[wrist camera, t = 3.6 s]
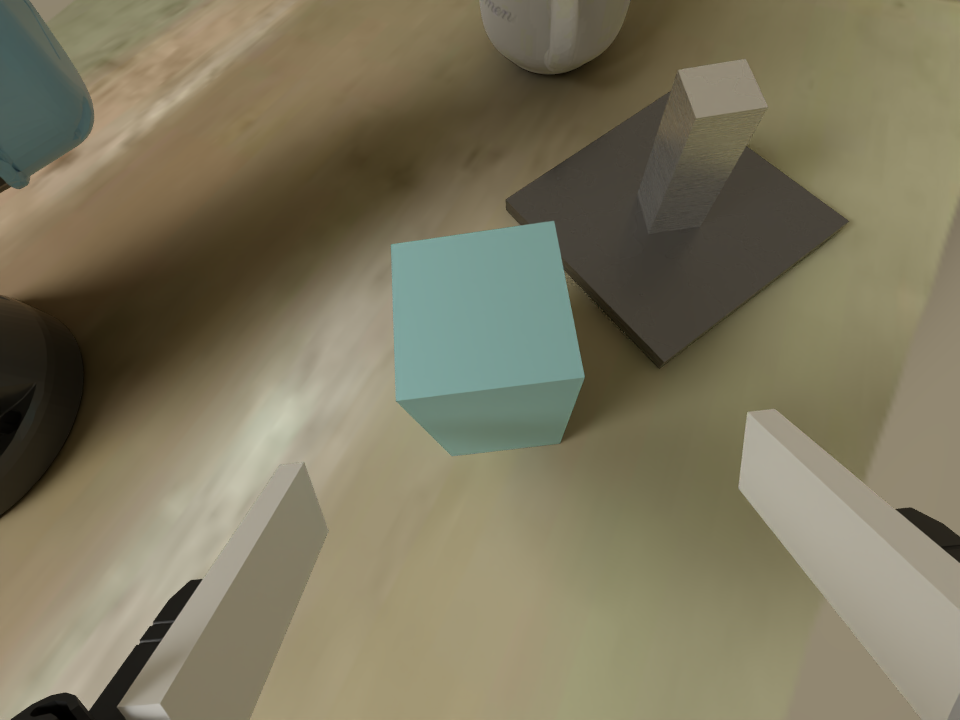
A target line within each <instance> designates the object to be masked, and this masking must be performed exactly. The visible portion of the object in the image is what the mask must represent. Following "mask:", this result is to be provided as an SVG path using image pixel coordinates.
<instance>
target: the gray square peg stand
mask: <svg viewBox="0 0 960 720" xmlns="http://www.w3.org/2000/svg"><path fill="white" fill-rule="evenodd" d="M767 108H768V106H767V103H766V101H765V99H764V97H763V95H762V93H761V90H760V88H759V86H758V84H757V82H756V80H755V77H754V75H753V73H752V71H751V69H750V67H749V65H748V62H747V60H746V59H742V60H735V61H729V62H723V63H717V64H711V65H704V66H698V67H692V68H686V69H680V70H678V71H677V74H676V77H675V80H674V83H673V86H672V89H671V91H670V92H668V93H667V94H665V95H664V96H662V97H661V98H659V99H658V100H656V101H655V102H653V103H652V104H650V105H649V106H647V107H646V108H644V109H643V110H641V111H640V112H638V113H636V114H635V115H633V116H632V117H630V118H629V119H627V120H626V121H624V122H623V123H621V124H620V125H618V126H617V127H615V128H614V129H612V130H611V131H609V132H608V133H606V134H605V135H603V136H601V137H600V138H598V139H597V140H595V141H594V142H592V143H591V144H589V145H588V146H586V147H585V148H583V149H582V150H580V151H579V152H577V153H576V154H574V155H573V156H571V157H570V158H568V159H566V160H565V161H563V162H562V163H560V164H559V165H557V166H556V167H554V168H553V169H551V170H550V171H548V172H547V173H545V174H544V175H542V176H541V177H539V178H538V179H536V180H535V181H533V182H531V183H530V184H528V185H527V186H525V187H524V188H522V189H521V190H519V191H518V192H516V193H515V194H513V195H512V196H510V197H509V198H507V199H506V210H507V211H508V212H509V213H510V214H511V215H512V216H513V217H514V218H515V219H516V221H517V222H518V223H519V224H520V225H528V224H535V223H542V222H549V221H554V223H555V228H556V233H557V238H558V243H559V248H560V253H561V259H562V264H563V269H564V270H565V271H566V272H567V273H568V274H569V275H570V276H571V278H572V279H573V280H574V281H575V282H576V283H577V284H578V285H579V286H580V287H581V288H582V289H583V290H584V291H585V292H586V293H587V294H588V295H589V296H590V297H591V298H592V299H593V300H594V301H595V302H596V303H597V304H598V305H599V307H600V308H601V309H602V310H603V311H604V312H605V313H606V314H607V315H608V316H609V317H610V318H611V319H612V320H613V321H614V322H615V323H616V324H617V325H618V326H619V327H620V328H621V329H622V330H623V331H624V332H625V333H626V335H627V336H628V337H629V338H630V339H631V340H632V341H633V342H634V343H635V344H636V345H637V346H638V347H639V348H640V349H641V350H642V351H643V352H644V353H645V354H646V355H647V356H648V357H649V358H650V359H651V360H652V361H653V362H654V364H655V365H656V366H657V367H658V368H661V367H662V366H663V365H665V364H666V363H667V362H669V361H670V360H671V359H672V358H674V357H675V356H676V355H678V354H679V353H680V352H682V351H683V350H684V349H686V348H687V347H688V346H689V345H691V344H692V343H693V342H695V341H696V340H697V339H699V338H700V337H701V336H703V335H704V334H705V333H707V332H708V331H709V330H710V329H712V328H713V327H714V326H716V325H717V324H718V323H720V322H721V321H722V320H724V319H725V318H726V317H727V316H729V315H730V314H731V313H733V312H734V311H735V310H737V309H738V308H739V307H741V306H742V305H743V304H744V303H746V302H747V301H748V300H750V299H751V298H752V297H754V296H755V295H756V294H758V293H759V292H760V291H761V290H763V289H764V288H765V287H767V286H768V285H769V284H771V283H772V282H773V281H775V280H776V279H777V278H778V277H780V276H781V275H782V274H784V273H785V272H786V271H788V270H789V269H790V268H792V267H793V266H794V265H795V264H797V263H798V262H799V261H801V260H802V259H803V258H805V257H806V256H807V255H809V254H810V253H811V252H813V251H814V250H815V249H816V248H818V247H819V246H820V245H822V244H823V243H824V242H826V241H827V240H828V239H830V238H831V237H832V236H833V235H835V234H836V233H837V232H839V231H840V230H841V229H842V228H843V227H844V226H845V225H846V224H847V223H848V222H849V221H848V220H847V219H845V218H844V217H843V216H841V215H840V214H838V213H837V212H836V211H834V210H833V209H832V208H830V207H829V206H827V205H826V204H825V203H823V202H822V201H821V200H819V199H818V198H817V197H815V196H814V195H812V194H811V193H810V192H808V191H807V190H806V189H804V188H803V187H801V186H800V185H799V184H797V183H796V182H795V181H793V180H792V179H791V178H789V177H788V176H786V175H785V174H784V173H782V172H781V171H780V170H778V169H777V168H775V167H774V166H773V165H771V164H770V163H769V162H767V161H766V160H765V159H763V158H762V157H760V156H759V155H758V154H756V153H755V152H754V151H752V150H751V149H749V148H748V147H747V146H746V145H747V143H748V142H749V140H750V138H751V136H752V135H753V133H754V131H755V129H756V128H757V126H758V124H759V122H760V121H761V119H762V117H763V115H764V114H765V112H766V110H767Z"/></svg>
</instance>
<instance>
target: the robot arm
mask: <svg viewBox="0 0 960 720" xmlns="http://www.w3.org/2000/svg"><path fill="white" fill-rule="evenodd" d="M93 123H94V109H93V103H92V100H91V97H90V95H89V92H88V90H87V88H86V85H85V84H84V82H83V80H82V78H81V76H80V75H79V73H78V71H77V70H76V68H75V66H74V65H73V63H72V62H71V60H70V58H69V57H68V55H67V54H66V52H65V51H64V49H63V48H62V46H61V45H60V44H59V42H58V41H57V39H56V38H55V36H54V35H53V33H52V32H51V31H50V29H49V28H48V26H47V25H46V23H45V22H44V20H43V19H42V18H41V16H40V15H39V13H38V12H37V11H36V9H35V8H34V6H33V5H32V3H31V2H30V1H29V0H0V193H1V192H3V191H5V190H6V189H8V188H10V187H13V188H16V189H21V188H23V187H25V186H27V185H28V184H29V181H30V176H31V175H32V174H34V173H35V172H37V171H39V170H40V169H42V168H43V167H45V166H47V165H48V164H50V163H51V162H53V161H54V160H56V159H58V158H59V157H61V156H62V155H64V154H65V153H67V152H69V151H70V150H72V149H73V148H75V147H77V146H78V145H79V144H81V143H82V142H83V141H84V140H85V139H86V138H87V137H88V135H89V134H90V132H91V130H92V127H93ZM82 388H83V363H82V357H81V353H80V350H79V347H78V345H77V342H76V340H75V338H74V337H73V335H72V334H71V332H70V331H69V330H68V328H67V327H66V326H65V325H64V324H63V323H61V322H60V321H59V320H57V319H56V318H55V317H53V316H51V315H49V314H47V313H45V312H42V311H40V310H38V309H36V308H33V307H31V306H29V305H27V304H25V303H22V302H20V301H18V300H15V299H12V298H9V297H6V296H2V295H0V515H1V514H3V513H4V512H5V511H6V510H8V509H9V508H10V507H11V506H13V505H14V504H15V503H16V502H17V501H18V500H19V499H20V498H21V497H23V496H24V495H25V494H26V493H27V492H28V491H29V490H30V488H31V487H32V486H33V485H34V484H35V483H36V482H37V481H38V480H39V478H40V477H41V476H42V475H43V474H44V472H45V471H46V470H47V468H48V467H49V466H50V464H51V463H52V461H53V460H54V459H55V457H56V456H57V454H58V452H59V451H60V449H61V447H62V446H63V444H64V442H65V440H66V438H67V436H68V434H69V432H70V430H71V427H72V425H73V423H74V420H75V417H76V414H77V411H78V408H79V404H80V400H81V395H82ZM738 488H739V490H740V491H741V492H742V493H743V495H744V496H745V497H746V499H747V500H748V501H749V502H750V504H751V505H752V506H753V507H754V509H755V510H756V511H757V512H758V514H759V515H760V516H761V517H762V519H763V520H764V521H765V523H766V524H767V525H768V526H769V528H770V529H771V530H772V531H773V533H774V534H775V535H776V536H777V538H778V539H779V540H780V542H781V543H782V544H783V545H784V547H785V548H786V549H787V550H788V552H789V553H790V554H791V555H792V557H793V558H794V559H795V560H796V562H797V563H798V564H799V566H800V567H801V568H802V569H803V571H804V572H805V573H806V574H807V576H808V577H809V578H810V579H811V581H812V582H813V583H814V584H815V586H816V587H817V588H818V590H819V591H820V592H821V593H822V595H823V596H824V597H825V598H826V600H827V601H828V602H829V603H830V605H831V606H832V607H833V608H834V610H835V611H836V612H837V614H838V615H839V616H840V617H841V619H842V620H843V621H844V622H845V624H846V625H847V626H848V627H849V629H850V630H851V631H852V633H853V634H854V635H855V636H856V638H857V639H858V640H859V641H860V643H861V644H862V645H863V646H864V648H865V649H866V650H867V651H868V653H869V654H870V655H871V657H872V658H873V659H874V660H875V661H876V663H877V664H878V665H879V667H880V668H881V669H882V670H883V672H884V673H885V674H886V675H887V677H888V678H889V679H890V680H891V682H892V683H893V684H894V685H895V687H896V688H897V689H898V691H899V692H900V693H901V694H902V696H903V697H904V698H905V699H906V701H907V702H908V703H909V704H910V706H911V707H912V708H913V710H914V711H915V712H916V713H917V715H918V716H919V717H920V718H921V719H922V720H960V537H959V536H958V535H957V534H955V533H954V532H953V531H952V530H950V529H949V528H948V527H946V526H945V525H944V524H943V523H941V522H939V521H937V520H935V519H933V518H931V517H929V516H927V515H925V514H923V513H921V512H919V511H917V510H915V509H913V508H901V509H894V508H893V507H892V506H891V505H889V504H888V503H887V502H886V501H885V500H883V499H882V498H881V497H880V496H879V495H877V494H876V493H875V492H874V491H873V490H872V489H870V488H869V487H868V486H867V485H866V484H864V483H863V482H862V481H861V480H860V479H858V478H857V477H856V476H855V475H854V474H852V473H851V472H850V471H849V470H848V469H846V468H845V467H844V466H843V465H842V464H840V463H839V462H838V461H837V460H836V459H834V458H833V457H832V456H831V455H830V454H828V453H827V452H826V451H825V450H824V449H822V448H821V447H820V446H819V445H818V444H816V443H815V442H814V441H813V440H812V439H810V438H809V437H808V436H807V435H806V434H804V433H803V432H802V431H801V430H800V429H798V428H797V427H796V426H795V425H794V424H792V423H791V422H790V421H789V420H788V419H787V418H785V417H784V416H783V415H782V414H781V413H779V412H778V411H777V410H776V409H768V410H759V411H750V412H747V419H746V427H745V436H744V444H743V453H742V461H741V470H740V479H739V487H738ZM328 531H329V530H328V528H327V525H326V522H325V519H324V516H323V514H322V511H321V508H320V505H319V502H318V500H317V497H316V494H315V491H314V488H313V486H312V483H311V480H310V477H309V475H308V472H307V469H306V466H305V463H304V462H301V463H292V464H283V465H279V467H278V468H277V470H276V471H275V473H274V474H273V476H272V477H271V479H270V480H269V482H268V483H267V485H266V486H265V488H264V489H263V491H262V492H261V494H260V495H259V496H258V498H257V499H256V501H255V502H254V504H253V505H252V507H251V508H250V510H249V511H248V513H247V514H246V516H245V517H244V519H243V520H242V522H241V523H240V525H239V526H238V528H237V529H236V531H235V532H234V534H233V535H232V537H231V538H230V540H229V541H228V543H227V544H226V546H225V547H224V548H223V550H222V551H221V553H220V554H219V556H218V557H217V559H216V560H215V562H214V563H213V565H212V566H211V568H210V569H209V571H208V572H207V574H206V575H205V577H204V578H203V579H198V580H190V581H189V582H188V583H187V584H186V585H185V586H184V587H183V588H181V589H180V590H179V591H178V592H177V593H176V594H175V595H174V596H173V597H172V598H170V599H169V600H168V602H167V603H166V605H165V606H164V607H163V609H162V610H161V612H160V613H159V614H158V616H157V617H156V619H155V620H154V621H153V626H150V627H149V628H148V630H147V631H146V632H145V634H144V635H143V637H142V638H141V639H140V644H139V645H136V646H135V648H134V649H133V651H132V652H131V653H130V655H129V656H128V657H127V659H126V660H125V662H124V663H123V664H122V666H121V667H120V669H119V670H118V671H117V673H116V674H115V676H114V677H113V678H112V680H111V681H110V683H109V684H108V685H107V687H106V688H105V689H104V691H103V692H102V694H101V695H100V696H99V698H98V699H97V701H96V702H95V703H94V705H93V706H92V708H91V709H90V710H89V711H88V710H87V709H86V708H85V706H84V705H83V704H82V703H81V701H80V700H79V699H78V698H77V697H76V696H75V695H72V694H69V693H61V694H55V695H51V696H49V697H46V698H44V699H42V700H40V701H38V702H36V703H34V704H32V705H31V706H29V707H28V708H26V709H25V710H23V711H22V712H21V713H19V714H18V715H16V716H15V717H13V718H12V719H11V720H250V717H251V715H252V713H253V710H254V708H255V705H256V703H257V701H258V698H259V696H260V694H261V691H262V689H263V686H264V684H265V682H266V679H267V677H268V674H269V672H270V670H271V667H272V665H273V662H274V660H275V658H276V655H277V653H278V651H279V648H280V646H281V643H282V641H283V639H284V636H285V634H286V631H287V629H288V627H289V624H290V622H291V620H292V617H293V615H294V612H295V610H296V608H297V605H298V603H299V600H300V598H301V596H302V593H303V591H304V588H305V586H306V584H307V581H308V579H309V577H310V574H311V572H312V569H313V567H314V565H315V562H316V560H317V557H318V555H319V553H320V550H321V548H322V545H323V543H324V541H325V538H326V536H327V534H328Z"/></svg>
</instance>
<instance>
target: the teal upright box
mask: <svg viewBox="0 0 960 720" xmlns="http://www.w3.org/2000/svg"><path fill="white" fill-rule="evenodd" d="M391 261H392V292H393V323H394V354H395V385H396V402H397V403H399V404H400V405H401V406H402V407H403V408H404V409H405V410H406V411H407V412H408V413H409V414H410V415H411V416H412V417H413V418H414V419H415V420H416V421H417V422H418V423H419V424H420V425H421V426H422V427H423V428H424V429H425V430H426V431H427V432H428V433H429V434H430V435H431V436H432V437H433V438H434V439H435V440H436V441H437V442H438V443H439V444H440V445H441V446H442V447H443V448H444V449H445V450H446V451H447V452H448V453H449V454H450V455H451V456H458V455H467V454H475V453H484V452H492V451H501V450H509V449H518V448H526V447H535V446H543V445H552V444H560V442H561V439H562V437H563V434H564V431H565V429H566V426H567V423H568V421H569V418H570V415H571V413H572V410H573V407H574V405H575V402H576V399H577V397H578V394H579V391H580V389H581V386H582V383H583V381H584V378H585V376H584V371H583V366H582V361H581V355H580V350H579V345H578V340H577V335H576V330H575V325H574V320H573V315H572V310H571V304H570V299H569V294H568V289H567V284H566V279H565V274H564V269H563V264H562V259H561V253H560V248H559V243H558V238H557V233H556V228H555V223H554V221H549V222H542V223H535V224H528V225H521V226H514V227H507V228H501V229H494V230H487V231H480V232H473V233H466V234H459V235H452V236H445V237H439V238H432V239H425V240H418V241H411V242H404V243H397V244H391Z"/></svg>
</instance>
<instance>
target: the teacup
mask: <svg viewBox="0 0 960 720" xmlns="http://www.w3.org/2000/svg"><path fill="white" fill-rule="evenodd" d="M630 1H631V0H480V9H481V16H482V21H483V24H484V28H485V31H486V33H487V35H488V37H489V39H490V41H491V42H492V44H493V45H494V46H495V48H496V49H497V50H498V51H499V52H500V53H501V54H502V55H504V56H505V57H506V58H508V59H509V60H511V61H512V62H513V63H515V64H516V65H518V66H519V67H521V68H523V69H525V70H528V71H530V72H534V73H539V74H559V73H564V72H568V71H571V70H573V69H576V68H578V67H580V66H582V65H583V64H585V63H587V62H589V61H591V60H593V59H594V58H596V57H597V56H599V55H600V54H601V53H603V52H604V51H605V50H606V49H607V48H608V47H609V46H610V45H611V43H612V42H613V41H614V39H615V38H616V36H617V34H618V33H619V31H620V29H621V27H622V25H623V22H624V20H625V17H626V14H627V11H628V8H629V4H630Z"/></svg>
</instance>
